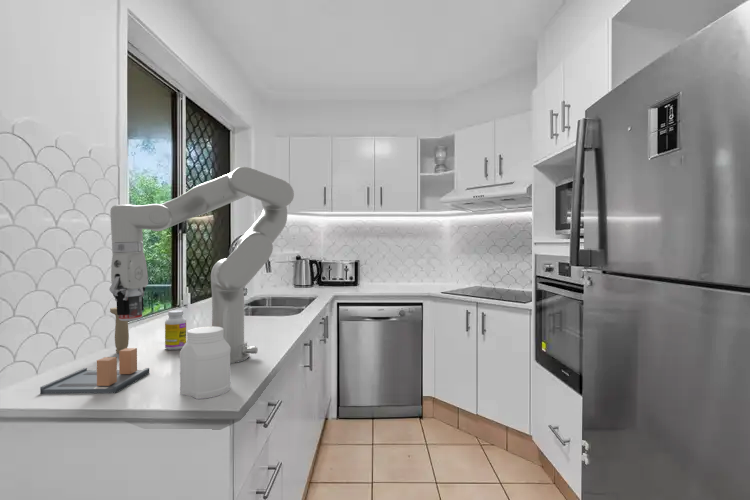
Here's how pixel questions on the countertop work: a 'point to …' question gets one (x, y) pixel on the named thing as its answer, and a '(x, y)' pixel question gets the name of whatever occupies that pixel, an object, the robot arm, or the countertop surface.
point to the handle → (120, 332)
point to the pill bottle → (133, 305)
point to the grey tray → (90, 382)
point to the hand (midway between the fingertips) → (130, 311)
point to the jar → (205, 363)
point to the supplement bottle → (175, 330)
